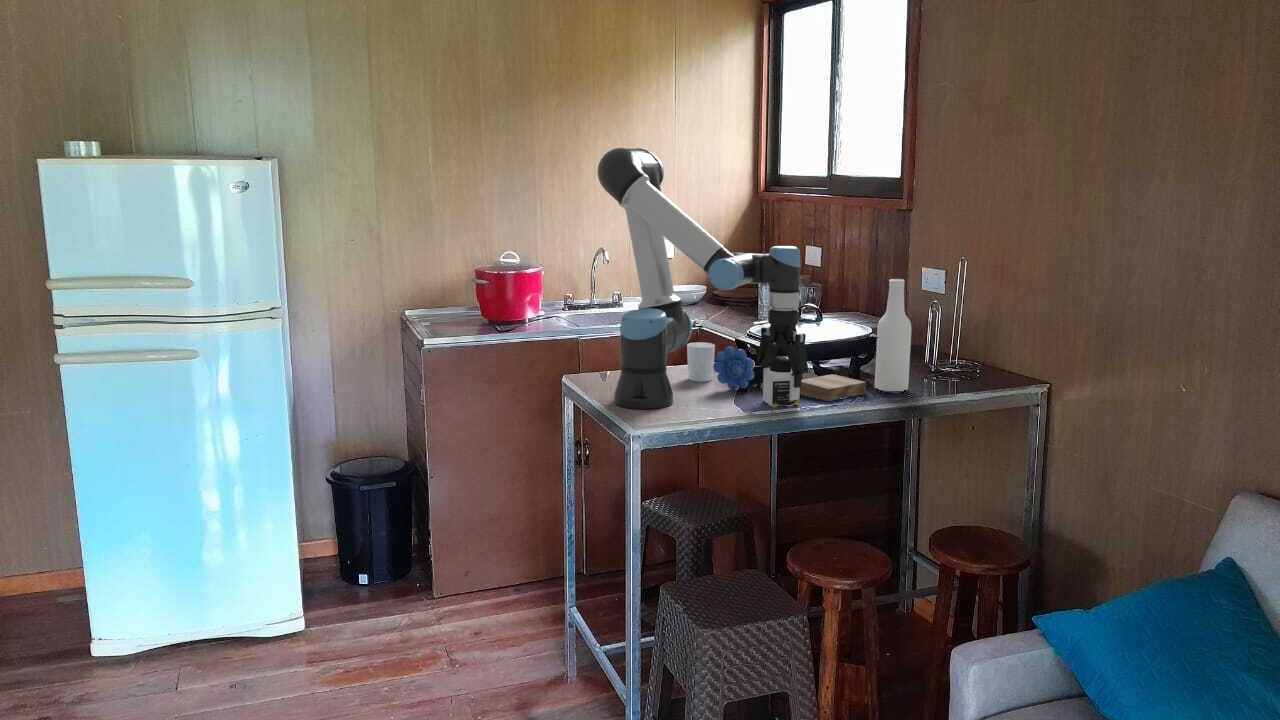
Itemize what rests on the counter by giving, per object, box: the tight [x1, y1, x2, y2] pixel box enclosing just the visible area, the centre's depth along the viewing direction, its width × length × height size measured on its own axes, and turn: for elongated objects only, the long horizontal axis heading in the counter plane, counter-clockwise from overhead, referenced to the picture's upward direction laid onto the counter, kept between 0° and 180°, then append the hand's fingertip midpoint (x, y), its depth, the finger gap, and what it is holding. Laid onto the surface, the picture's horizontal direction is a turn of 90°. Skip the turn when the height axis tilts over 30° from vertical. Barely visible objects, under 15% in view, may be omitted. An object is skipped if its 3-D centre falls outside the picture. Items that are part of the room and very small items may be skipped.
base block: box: [800, 373, 867, 401], centre depth 252 cm, size 14×12×4 cm
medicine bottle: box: [762, 355, 800, 408], centre depth 241 cm, size 7×7×12 cm
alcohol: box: [874, 278, 913, 391], centre depth 255 cm, size 9×9×30 cm
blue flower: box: [713, 345, 756, 390], centre depth 256 cm, size 12×7×12 cm, turn 102°
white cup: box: [686, 341, 716, 383], centre depth 270 cm, size 8×8×10 cm
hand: (780, 395), depth 242 cm, fingers closed on medicine bottle, 9 cm apart
